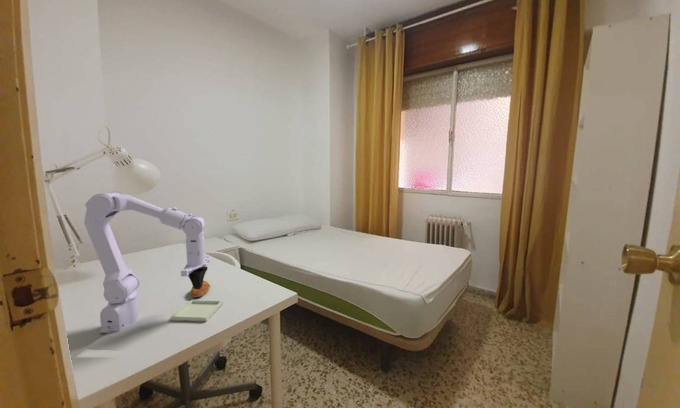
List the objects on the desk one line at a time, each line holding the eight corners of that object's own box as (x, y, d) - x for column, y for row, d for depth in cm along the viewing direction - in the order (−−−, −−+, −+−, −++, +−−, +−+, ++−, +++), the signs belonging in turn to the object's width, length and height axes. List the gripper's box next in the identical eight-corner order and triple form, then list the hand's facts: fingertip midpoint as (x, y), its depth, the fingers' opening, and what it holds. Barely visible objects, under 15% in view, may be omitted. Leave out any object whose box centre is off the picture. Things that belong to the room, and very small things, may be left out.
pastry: (206, 298, 104) (205, 289, 104) (187, 299, 102) (186, 290, 102) (211, 287, 113) (210, 279, 113) (193, 288, 111) (193, 280, 111)
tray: (206, 321, 88) (206, 317, 88) (171, 320, 88) (171, 316, 88) (223, 304, 100) (222, 300, 100) (192, 303, 100) (191, 299, 100)
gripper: (195, 257, 84) (197, 298, 86) (217, 245, 99) (218, 280, 100) (173, 257, 84) (176, 297, 86) (198, 245, 99) (200, 279, 100)
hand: (197, 288), depth 93 cm, fingers closed
